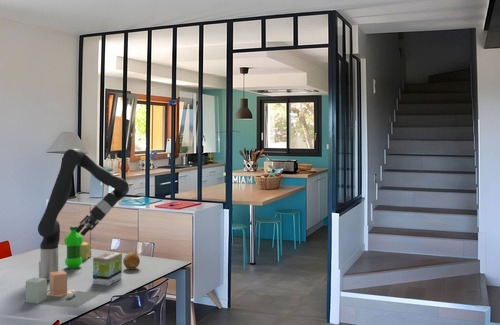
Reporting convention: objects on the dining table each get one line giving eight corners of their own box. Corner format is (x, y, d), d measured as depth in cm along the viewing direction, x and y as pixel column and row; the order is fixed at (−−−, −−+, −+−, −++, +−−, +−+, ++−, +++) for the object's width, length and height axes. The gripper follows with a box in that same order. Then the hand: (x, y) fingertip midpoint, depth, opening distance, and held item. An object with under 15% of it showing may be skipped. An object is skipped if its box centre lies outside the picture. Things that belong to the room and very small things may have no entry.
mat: (23, 303, 234) (23, 302, 234) (52, 289, 255) (52, 288, 255) (76, 309, 228) (76, 307, 228) (101, 294, 249) (101, 293, 249)
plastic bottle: (86, 266, 301) (86, 226, 300) (71, 270, 292) (71, 228, 291) (75, 264, 306) (75, 224, 305) (61, 267, 297) (60, 226, 296)
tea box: (109, 286, 263) (109, 258, 262) (92, 284, 265) (92, 257, 264) (122, 278, 278) (122, 252, 277) (105, 277, 280) (105, 251, 279)
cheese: (91, 256, 327) (91, 241, 326) (86, 260, 316) (86, 245, 316) (75, 256, 327) (75, 241, 326) (70, 260, 316) (70, 245, 315)
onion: (119, 270, 294) (119, 253, 294) (128, 266, 304) (128, 250, 303) (134, 271, 291) (134, 255, 291) (142, 267, 301) (142, 251, 300)
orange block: (53, 295, 244) (53, 275, 244) (49, 292, 249) (49, 272, 249) (67, 293, 248) (67, 273, 248) (63, 289, 253) (63, 270, 253)
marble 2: (68, 296, 243) (68, 290, 243) (72, 294, 246) (72, 288, 246) (74, 297, 243) (74, 291, 243) (77, 295, 246) (77, 289, 245)
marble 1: (65, 298, 240) (65, 292, 240) (68, 296, 243) (68, 290, 243) (70, 299, 239) (70, 293, 239) (74, 297, 242) (74, 291, 242)
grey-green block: (25, 302, 234) (25, 281, 234) (34, 297, 241) (34, 277, 240) (38, 303, 233) (38, 282, 232) (46, 298, 239) (46, 278, 239)
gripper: (91, 203, 268) (69, 226, 261) (101, 207, 256) (78, 231, 250) (100, 212, 271) (79, 235, 265) (110, 216, 260) (88, 240, 254)
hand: (79, 233), depth 257 cm, fingers open, 8 cm apart
